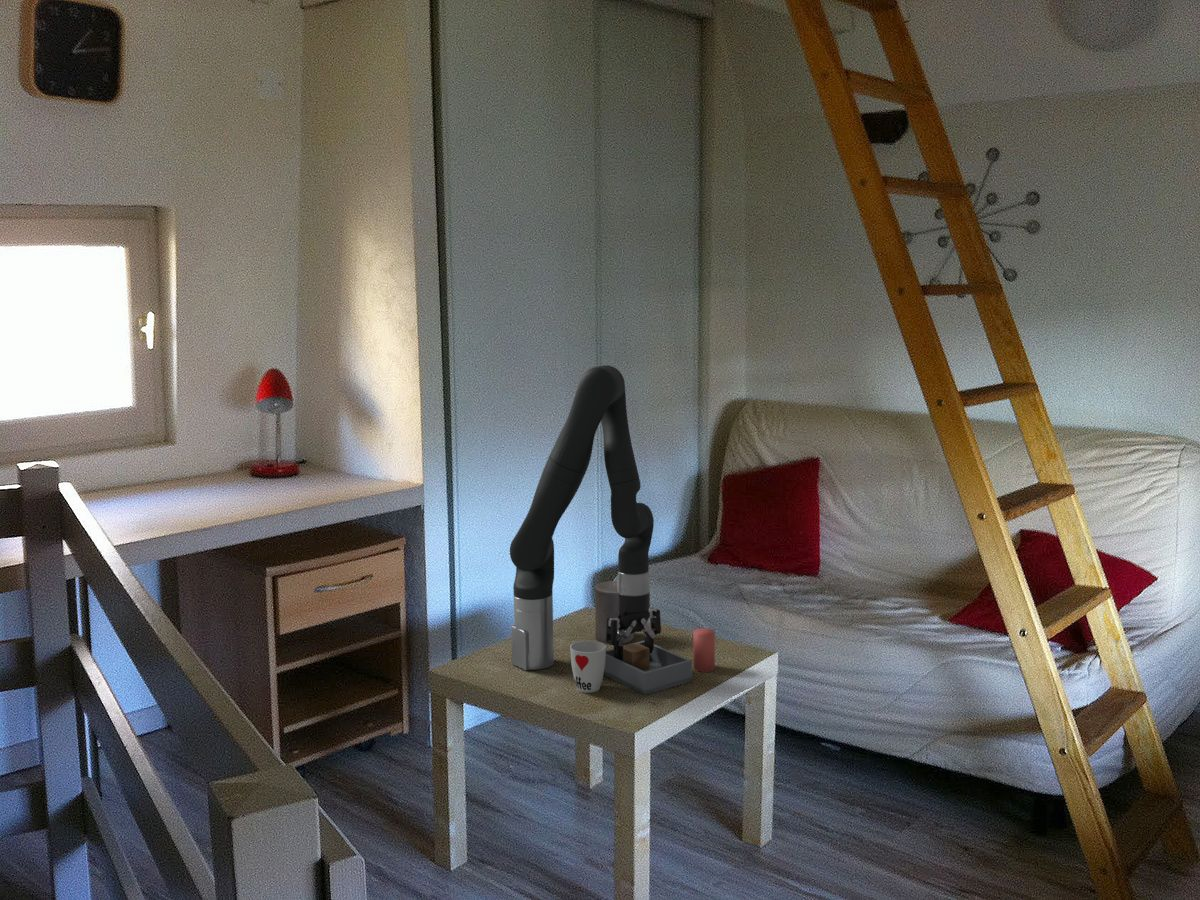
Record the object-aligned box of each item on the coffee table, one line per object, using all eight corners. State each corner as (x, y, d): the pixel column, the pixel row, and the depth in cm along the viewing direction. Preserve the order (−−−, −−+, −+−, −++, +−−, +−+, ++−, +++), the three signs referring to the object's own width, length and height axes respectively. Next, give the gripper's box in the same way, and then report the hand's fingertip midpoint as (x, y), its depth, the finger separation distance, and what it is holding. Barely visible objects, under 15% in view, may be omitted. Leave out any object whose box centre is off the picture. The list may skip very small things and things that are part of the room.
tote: (644, 695, 274) (644, 673, 274) (598, 672, 288) (598, 652, 288) (691, 681, 282) (691, 660, 281) (644, 660, 296) (644, 640, 295)
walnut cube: (632, 673, 285) (632, 652, 284) (619, 667, 289) (619, 647, 288) (649, 668, 288) (649, 648, 287) (636, 662, 292) (636, 642, 291)
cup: (563, 687, 279) (562, 645, 278) (592, 679, 284) (591, 637, 282) (584, 698, 273) (584, 655, 271) (613, 689, 278) (613, 647, 276)
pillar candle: (588, 635, 314) (588, 579, 311) (622, 629, 319) (621, 573, 316) (607, 647, 306) (606, 589, 303) (641, 640, 310) (640, 583, 307)
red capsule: (702, 673, 287) (702, 636, 285) (689, 667, 291) (689, 631, 289) (719, 669, 290) (719, 632, 288) (705, 663, 294) (705, 626, 292)
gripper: (648, 580, 292) (648, 646, 295) (599, 591, 284) (599, 658, 287) (667, 587, 286) (667, 654, 289) (618, 599, 278) (618, 667, 281)
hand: (633, 656), depth 288 cm, fingers open, 8 cm apart
